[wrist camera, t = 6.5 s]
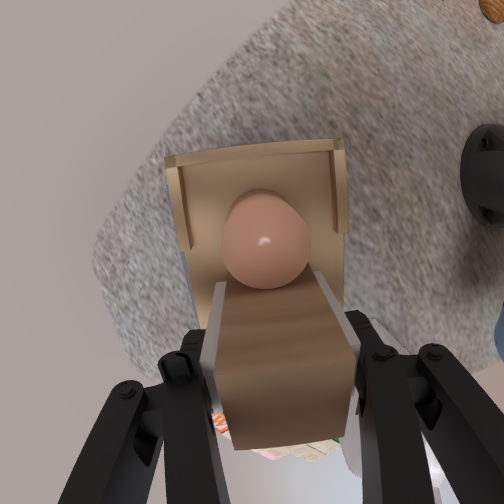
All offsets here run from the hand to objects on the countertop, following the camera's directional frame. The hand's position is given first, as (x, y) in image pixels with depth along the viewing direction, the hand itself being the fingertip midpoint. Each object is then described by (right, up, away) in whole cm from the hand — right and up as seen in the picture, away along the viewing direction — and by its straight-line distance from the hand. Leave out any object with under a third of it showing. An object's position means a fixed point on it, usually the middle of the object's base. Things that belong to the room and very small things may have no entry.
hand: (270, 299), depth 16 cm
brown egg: (-1, +4, 0) cm, 4 cm away
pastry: (+39, +44, +6) cm, 59 cm away
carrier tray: (0, +2, +5) cm, 5 cm away
